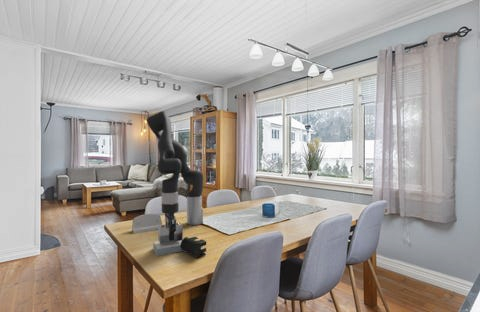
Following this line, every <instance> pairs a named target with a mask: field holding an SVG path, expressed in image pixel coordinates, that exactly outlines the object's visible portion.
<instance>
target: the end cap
mask: <svg viewBox="0 0 480 312" xmlns="http://www.w3.org/2000/svg"><path fill="white" fill-rule="evenodd" d="M180 246H181V249H182V250H183V251H182V252H185V253H187V254H189V255H191V256H193V257H195V258H198V259H199V258H201V257H204V256H206V252H207V247H205V246H207V241H206V240H205V239H200V240H199V237H197V236H192V237H188V236H185V237H183V240H182V241H181V245H180ZM202 247H204V248H202Z"/></svg>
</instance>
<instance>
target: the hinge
mask: <svg viewBox="0 0 480 312" xmlns="http://www.w3.org/2000/svg"><path fill="white" fill-rule="evenodd" d="M158 225H163V222H162V218H161V215H159V214H156V213H145V214H142V215H138V216H136V217H134V218H133V219H132V227H131V232H132V233H133V234H141V233H148V232H152V231H153V232H154V231H158Z"/></svg>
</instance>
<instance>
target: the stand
mask: <svg viewBox="0 0 480 312" xmlns="http://www.w3.org/2000/svg"><path fill="white" fill-rule="evenodd" d="M181 241H182V240H181ZM181 241H175V242H169V243H163V244H160V243H159V241H157V242H156V241H155V242H153V243H152V244H153V245H152V249H153V252H154V254H155V256H156V257H157V256H163V255H164V256H165V255H170V254H175V253H179V252H180V253H181V252H184V251H183V250H182V249H181V246H180V245H181Z"/></svg>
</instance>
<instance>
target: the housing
mask: <svg viewBox="0 0 480 312" xmlns="http://www.w3.org/2000/svg"><path fill="white" fill-rule="evenodd" d="M171 229H173V228H171ZM157 233H158V234H157V236H158V239H157V240H158V241H157V242H159V243H160V244H163V243H169V242H175V241H181V240H183V239H184V237H183V235H184V234H183V224H182V223H181V222H176V232H174V240H172V241H170V240H169V227H167V225H166V224H162V225H158V230H157Z"/></svg>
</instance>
